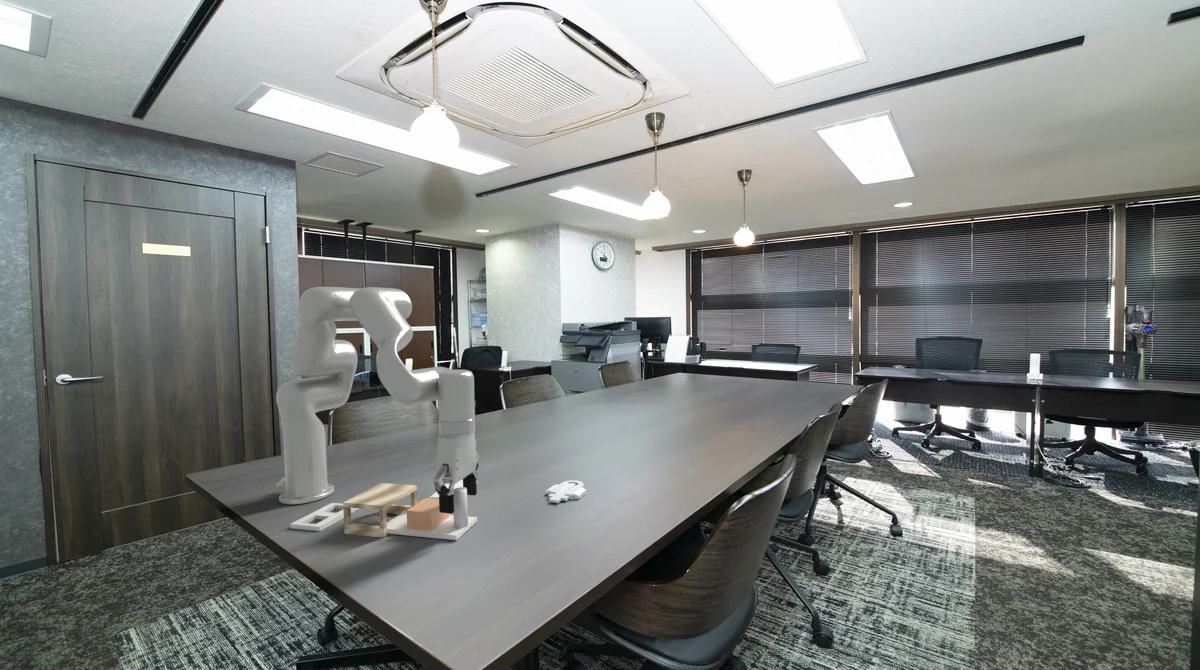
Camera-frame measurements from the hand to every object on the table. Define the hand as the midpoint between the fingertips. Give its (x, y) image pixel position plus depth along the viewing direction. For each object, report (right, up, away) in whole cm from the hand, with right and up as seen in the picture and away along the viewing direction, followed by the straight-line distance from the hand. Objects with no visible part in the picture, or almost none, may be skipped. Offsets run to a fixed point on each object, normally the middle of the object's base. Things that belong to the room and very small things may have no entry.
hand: (458, 503), depth 102 cm
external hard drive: (-8, -6, +23) cm, 25 cm away
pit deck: (-34, -7, +8) cm, 36 cm away
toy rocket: (+23, -5, +21) cm, 31 cm away
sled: (-7, -6, +2) cm, 10 cm away
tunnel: (-19, -6, +5) cm, 21 cm away
